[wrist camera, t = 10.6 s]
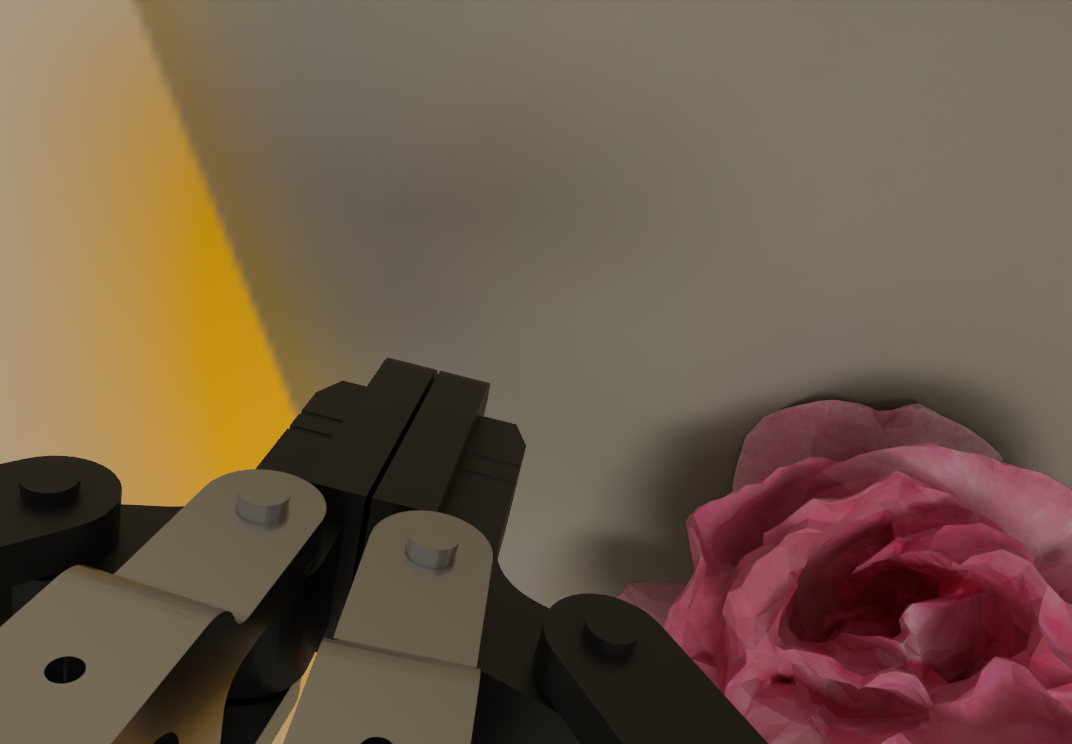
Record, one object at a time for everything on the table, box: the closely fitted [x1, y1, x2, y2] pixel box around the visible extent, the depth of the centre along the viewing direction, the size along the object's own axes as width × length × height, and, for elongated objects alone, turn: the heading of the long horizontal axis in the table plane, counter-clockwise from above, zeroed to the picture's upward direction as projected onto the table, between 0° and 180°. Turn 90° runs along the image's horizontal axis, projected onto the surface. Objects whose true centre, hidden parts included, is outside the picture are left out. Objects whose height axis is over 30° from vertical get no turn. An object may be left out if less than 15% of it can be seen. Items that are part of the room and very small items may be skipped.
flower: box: [615, 400, 1072, 744], centre depth 20 cm, size 11×10×10 cm
